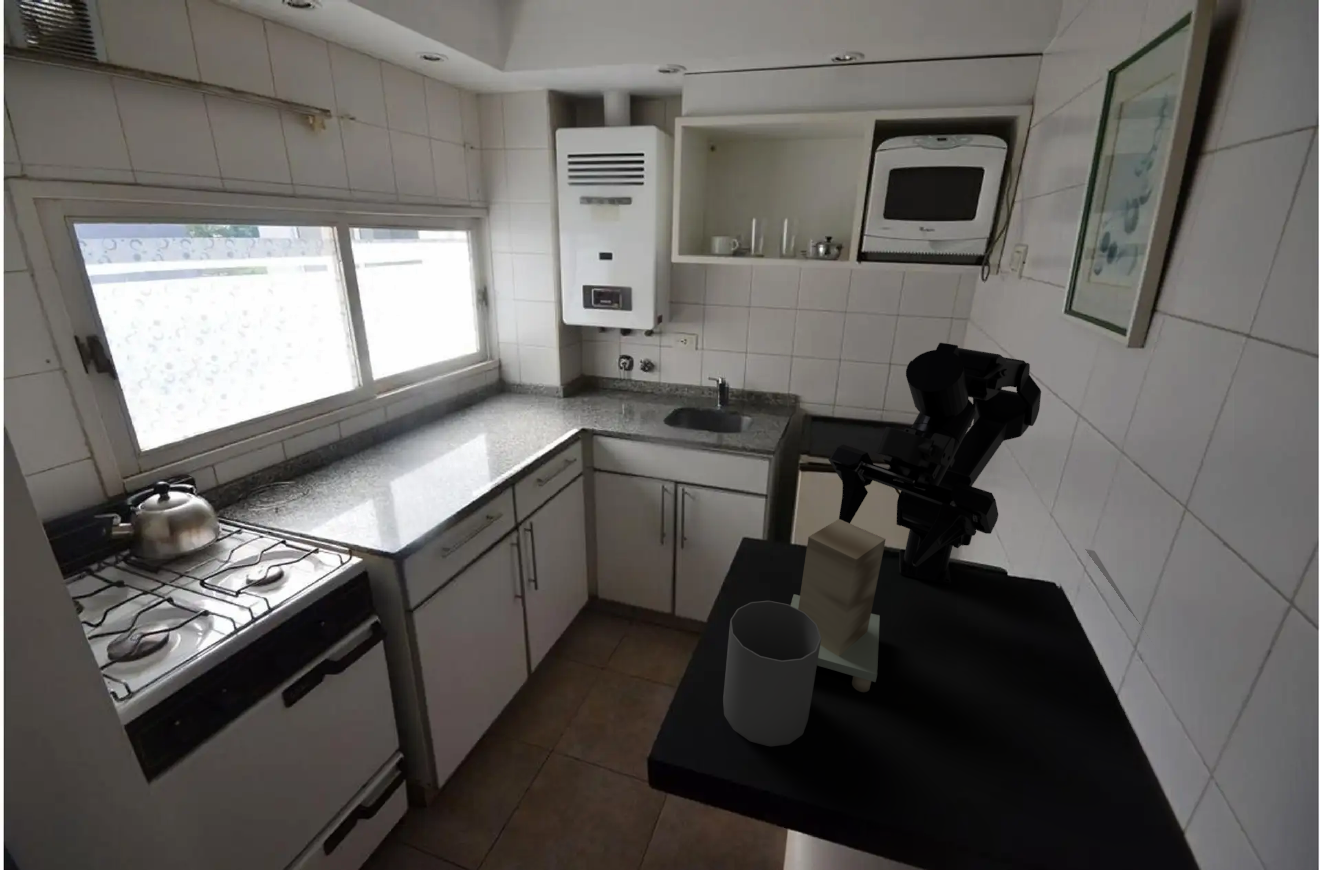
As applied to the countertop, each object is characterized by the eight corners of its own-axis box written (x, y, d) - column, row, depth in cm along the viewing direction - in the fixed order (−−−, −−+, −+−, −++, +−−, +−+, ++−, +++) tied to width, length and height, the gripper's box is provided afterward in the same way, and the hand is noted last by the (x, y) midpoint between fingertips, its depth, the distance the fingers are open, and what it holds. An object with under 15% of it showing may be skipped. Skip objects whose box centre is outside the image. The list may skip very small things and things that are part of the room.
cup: (715, 732, 53) (723, 648, 50) (729, 670, 61) (736, 594, 57) (806, 755, 51) (820, 670, 48) (809, 689, 59) (821, 610, 55)
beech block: (824, 607, 67) (838, 518, 62) (867, 631, 63) (885, 538, 59) (795, 629, 63) (808, 536, 59) (838, 656, 59) (856, 559, 55)
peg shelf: (790, 614, 70) (793, 594, 69) (875, 636, 67) (879, 615, 66) (776, 668, 61) (778, 646, 60) (872, 697, 58) (877, 674, 57)
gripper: (847, 382, 68) (784, 489, 65) (1016, 423, 56) (947, 558, 53) (869, 428, 76) (814, 526, 73) (1021, 473, 64) (962, 593, 61)
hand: (875, 547), depth 65 cm, fingers open, 9 cm apart
